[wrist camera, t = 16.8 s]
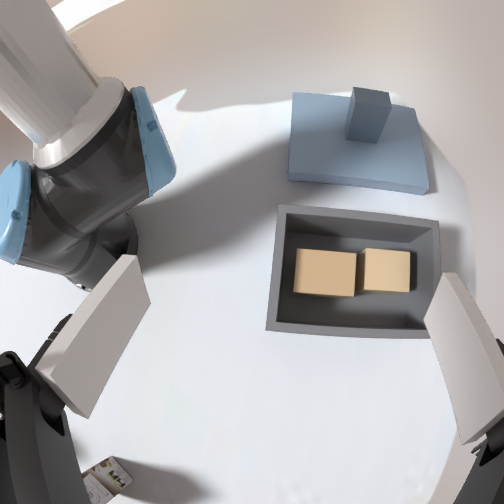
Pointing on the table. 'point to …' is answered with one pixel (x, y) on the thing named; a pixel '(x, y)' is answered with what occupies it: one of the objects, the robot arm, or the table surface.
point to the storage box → (352, 273)
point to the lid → (357, 142)
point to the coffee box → (105, 480)
